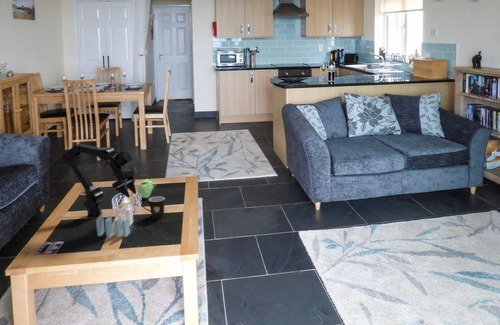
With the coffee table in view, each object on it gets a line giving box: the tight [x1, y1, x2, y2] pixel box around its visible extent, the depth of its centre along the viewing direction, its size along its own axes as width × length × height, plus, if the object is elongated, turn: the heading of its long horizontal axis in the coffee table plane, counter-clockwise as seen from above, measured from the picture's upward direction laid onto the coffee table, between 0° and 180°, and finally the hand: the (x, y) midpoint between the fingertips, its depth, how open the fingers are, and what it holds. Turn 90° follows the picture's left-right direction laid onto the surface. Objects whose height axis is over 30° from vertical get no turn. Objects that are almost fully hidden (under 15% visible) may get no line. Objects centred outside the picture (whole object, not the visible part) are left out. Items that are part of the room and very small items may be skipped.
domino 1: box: [95, 215, 106, 237], centre depth 226 cm, size 2×5×8 cm, turn 175°
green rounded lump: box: [136, 178, 156, 199], centre depth 279 cm, size 12×11×11 cm
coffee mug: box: [141, 196, 166, 219], centre depth 249 cm, size 12×9×10 cm
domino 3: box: [113, 216, 123, 238], centre depth 225 cm, size 2×5×8 cm, turn 175°
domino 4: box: [121, 216, 131, 238], centre depth 224 cm, size 2×5×8 cm, turn 175°
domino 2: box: [104, 216, 114, 237], centre depth 225 cm, size 2×5×8 cm, turn 175°
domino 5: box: [125, 206, 134, 227], centre depth 238 cm, size 2×5×8 cm, turn 175°
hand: (132, 195), depth 239 cm, fingers open, 9 cm apart
